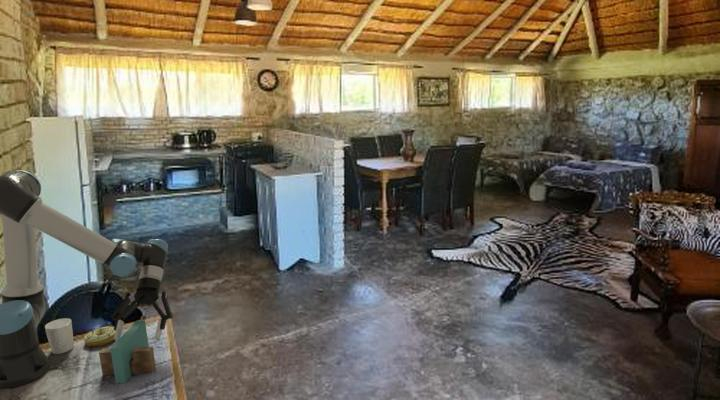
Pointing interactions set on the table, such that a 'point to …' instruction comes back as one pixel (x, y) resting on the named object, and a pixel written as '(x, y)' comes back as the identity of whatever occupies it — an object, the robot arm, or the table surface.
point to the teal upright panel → (128, 350)
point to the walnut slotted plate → (138, 363)
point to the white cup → (60, 335)
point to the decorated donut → (100, 336)
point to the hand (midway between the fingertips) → (136, 339)
